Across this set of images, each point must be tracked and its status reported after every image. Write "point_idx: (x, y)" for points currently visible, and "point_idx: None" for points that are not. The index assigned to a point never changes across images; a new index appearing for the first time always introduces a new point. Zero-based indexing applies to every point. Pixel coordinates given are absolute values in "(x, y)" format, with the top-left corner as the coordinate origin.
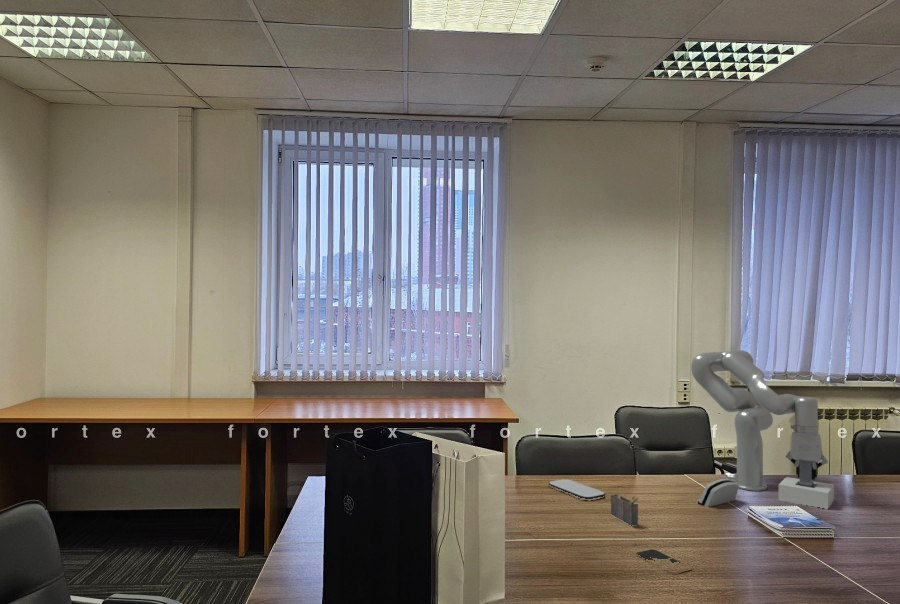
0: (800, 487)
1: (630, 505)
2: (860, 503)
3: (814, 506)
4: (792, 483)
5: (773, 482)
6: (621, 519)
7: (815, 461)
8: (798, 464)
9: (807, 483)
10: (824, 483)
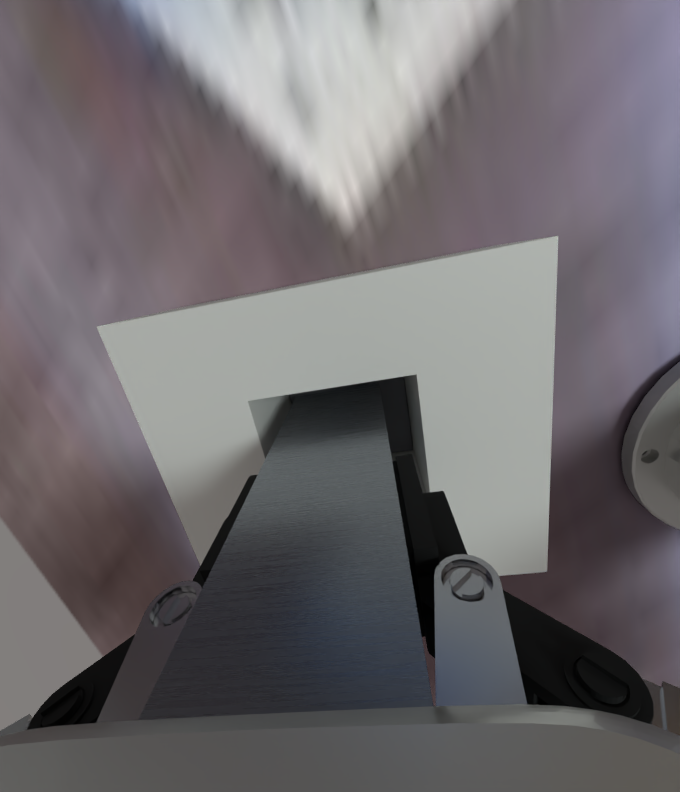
0: (339, 314)
1: None
2: (155, 558)
3: (251, 293)
4: (447, 404)
5: (605, 613)
6: None
7: (1, 738)
8: (440, 602)
9: (312, 429)
10: None
